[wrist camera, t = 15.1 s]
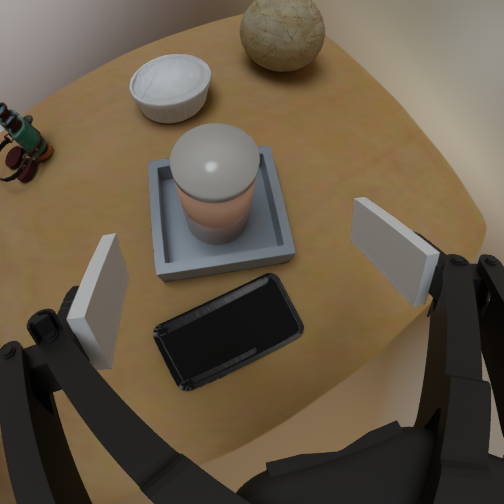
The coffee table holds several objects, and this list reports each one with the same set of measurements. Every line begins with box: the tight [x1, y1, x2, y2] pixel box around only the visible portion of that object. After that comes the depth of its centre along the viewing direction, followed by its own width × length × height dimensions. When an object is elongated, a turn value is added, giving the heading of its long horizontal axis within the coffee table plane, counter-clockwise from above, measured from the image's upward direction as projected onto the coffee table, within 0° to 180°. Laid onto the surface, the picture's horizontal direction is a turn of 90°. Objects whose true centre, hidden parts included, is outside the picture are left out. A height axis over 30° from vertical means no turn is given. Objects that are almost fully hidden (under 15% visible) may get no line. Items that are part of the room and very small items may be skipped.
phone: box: [153, 273, 304, 391], centre depth 32 cm, size 8×1×15 cm
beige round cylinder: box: [170, 123, 260, 245], centre depth 29 cm, size 7×7×12 cm
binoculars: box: [0, 103, 53, 183], centre depth 31 cm, size 9×11×10 cm
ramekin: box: [129, 54, 211, 123], centre depth 37 cm, size 11×11×5 cm
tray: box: [148, 146, 296, 282], centre depth 34 cm, size 14×13×4 cm
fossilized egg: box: [240, 0, 325, 72], centre depth 37 cm, size 13×13×15 cm
